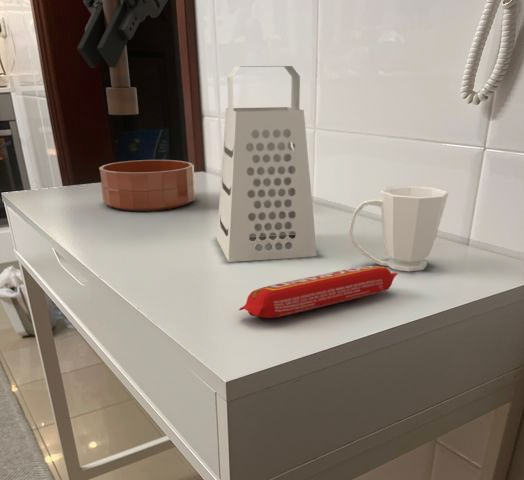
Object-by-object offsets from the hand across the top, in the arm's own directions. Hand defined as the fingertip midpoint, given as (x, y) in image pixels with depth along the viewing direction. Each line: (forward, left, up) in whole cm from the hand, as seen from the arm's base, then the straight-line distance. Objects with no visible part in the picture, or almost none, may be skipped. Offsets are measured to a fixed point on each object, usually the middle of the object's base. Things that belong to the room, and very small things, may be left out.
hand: (96, 57), depth 64 cm
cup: (+22, +28, -21) cm, 41 cm away
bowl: (-23, +8, -21) cm, 32 cm away
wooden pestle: (-3, +3, -6) cm, 7 cm away
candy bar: (+31, +15, -21) cm, 40 cm away
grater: (+10, +17, -21) cm, 29 cm away
